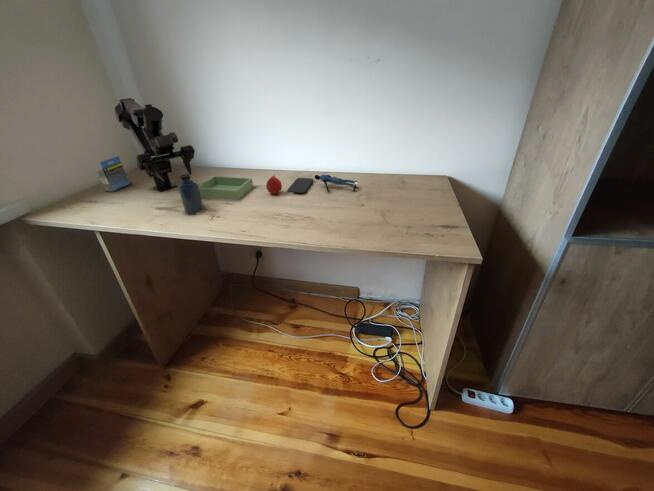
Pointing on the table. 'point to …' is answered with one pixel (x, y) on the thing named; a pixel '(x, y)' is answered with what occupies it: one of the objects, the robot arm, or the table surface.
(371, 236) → the table surface
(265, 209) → the table surface
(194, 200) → the bottle
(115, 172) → the tape cartridge
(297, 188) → the phone
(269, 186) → the onion
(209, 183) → the bin
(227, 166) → the table surface
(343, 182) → the person figurine
